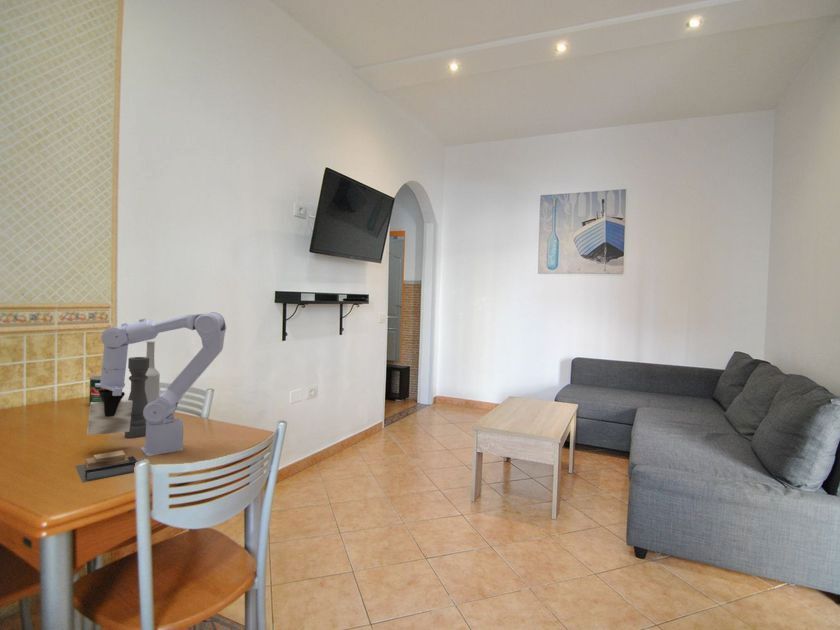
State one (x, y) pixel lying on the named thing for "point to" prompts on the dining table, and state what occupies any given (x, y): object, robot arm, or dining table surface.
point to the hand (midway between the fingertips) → (109, 415)
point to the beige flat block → (109, 419)
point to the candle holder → (137, 396)
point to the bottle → (151, 375)
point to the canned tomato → (95, 390)
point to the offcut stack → (106, 459)
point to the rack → (106, 470)
